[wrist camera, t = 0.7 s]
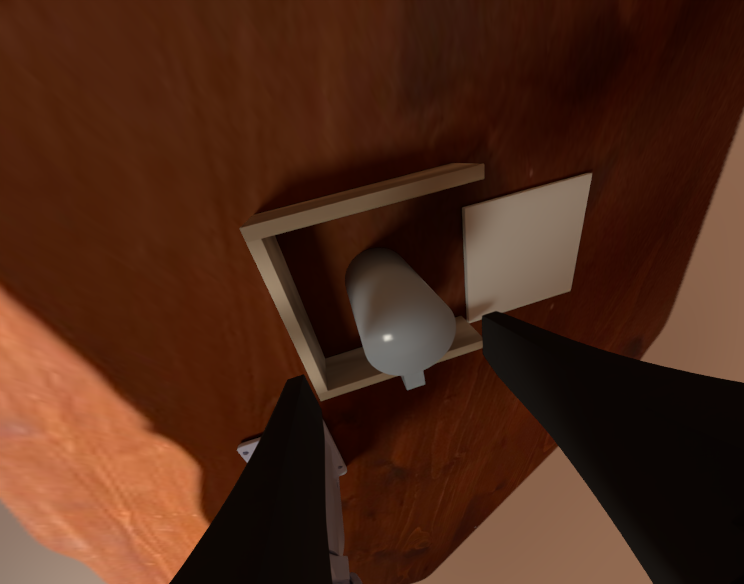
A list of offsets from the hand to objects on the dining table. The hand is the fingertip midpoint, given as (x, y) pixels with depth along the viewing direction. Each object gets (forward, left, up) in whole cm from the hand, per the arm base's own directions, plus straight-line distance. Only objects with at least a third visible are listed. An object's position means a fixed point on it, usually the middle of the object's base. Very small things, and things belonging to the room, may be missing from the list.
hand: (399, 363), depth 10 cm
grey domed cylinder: (-2, -1, -10) cm, 10 cm away
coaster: (-3, -13, -10) cm, 17 cm away
